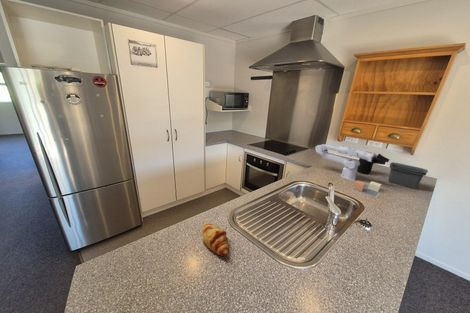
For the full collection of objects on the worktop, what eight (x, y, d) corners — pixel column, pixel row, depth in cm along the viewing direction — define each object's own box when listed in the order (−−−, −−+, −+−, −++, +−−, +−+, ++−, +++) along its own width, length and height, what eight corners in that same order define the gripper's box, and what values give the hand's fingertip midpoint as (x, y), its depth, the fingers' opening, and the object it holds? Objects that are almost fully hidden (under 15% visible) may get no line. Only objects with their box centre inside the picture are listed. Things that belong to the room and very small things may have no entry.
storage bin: (383, 181, 147) (388, 164, 143) (387, 176, 157) (392, 160, 153) (419, 192, 132) (427, 173, 128) (421, 185, 143) (428, 168, 138)
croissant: (200, 234, 87) (191, 224, 83) (216, 220, 90) (209, 210, 86) (220, 269, 70) (211, 258, 66) (240, 250, 73) (233, 238, 69)
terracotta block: (353, 188, 131) (355, 182, 129) (355, 186, 134) (357, 180, 132) (361, 191, 127) (363, 185, 126) (363, 189, 130) (365, 183, 129)
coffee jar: (369, 171, 166) (375, 152, 160) (370, 175, 157) (376, 155, 152) (356, 169, 171) (361, 150, 165) (356, 172, 163) (361, 153, 157)
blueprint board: (350, 190, 130) (352, 184, 129) (359, 182, 143) (360, 177, 141) (376, 199, 120) (378, 192, 118) (382, 190, 133) (384, 184, 131)
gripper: (362, 152, 132) (385, 158, 123) (370, 148, 141) (392, 154, 131) (360, 161, 135) (381, 168, 125) (367, 157, 143) (388, 163, 133)
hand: (386, 161), depth 128 cm, fingers open, 7 cm apart
